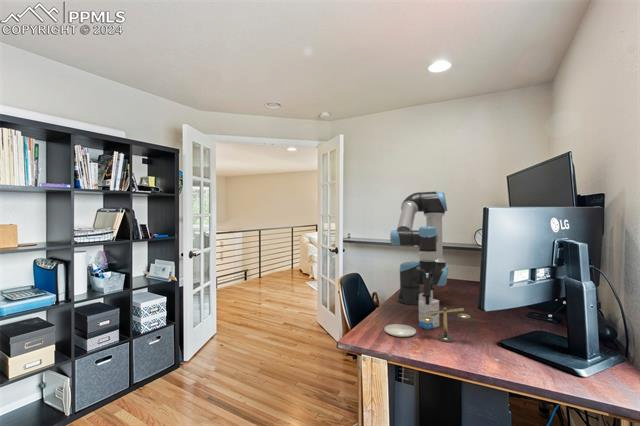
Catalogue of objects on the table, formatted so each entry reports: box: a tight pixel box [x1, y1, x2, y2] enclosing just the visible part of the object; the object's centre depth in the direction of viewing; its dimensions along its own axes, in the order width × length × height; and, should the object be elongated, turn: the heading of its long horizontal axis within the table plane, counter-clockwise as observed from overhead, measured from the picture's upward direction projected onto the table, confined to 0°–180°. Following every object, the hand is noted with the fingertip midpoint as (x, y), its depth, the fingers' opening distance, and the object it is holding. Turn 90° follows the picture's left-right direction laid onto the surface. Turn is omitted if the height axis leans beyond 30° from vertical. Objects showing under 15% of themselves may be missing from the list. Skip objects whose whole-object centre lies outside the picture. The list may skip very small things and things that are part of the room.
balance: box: [422, 306, 471, 343], centre depth 121 cm, size 6×18×13 cm, turn 66°
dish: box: [384, 323, 417, 338], centre depth 129 cm, size 13×13×1 cm
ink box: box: [418, 292, 440, 330], centre depth 136 cm, size 8×5×15 cm, turn 123°
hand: (428, 308), depth 135 cm, fingers open, 13 cm apart
